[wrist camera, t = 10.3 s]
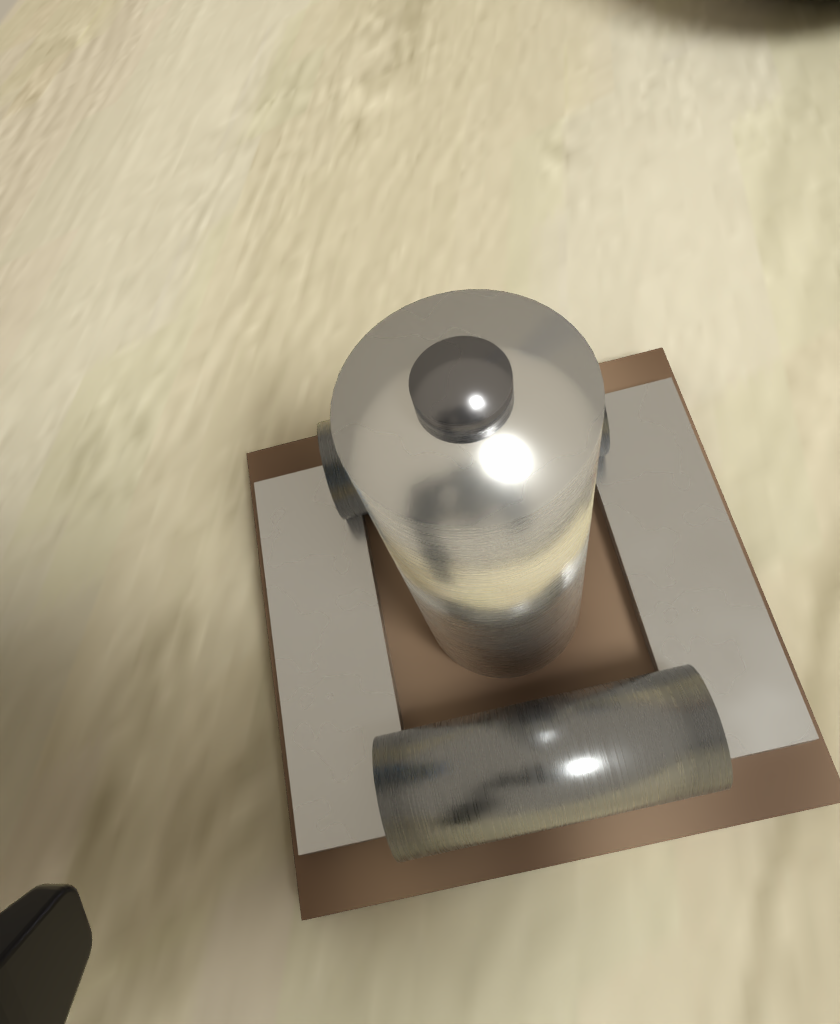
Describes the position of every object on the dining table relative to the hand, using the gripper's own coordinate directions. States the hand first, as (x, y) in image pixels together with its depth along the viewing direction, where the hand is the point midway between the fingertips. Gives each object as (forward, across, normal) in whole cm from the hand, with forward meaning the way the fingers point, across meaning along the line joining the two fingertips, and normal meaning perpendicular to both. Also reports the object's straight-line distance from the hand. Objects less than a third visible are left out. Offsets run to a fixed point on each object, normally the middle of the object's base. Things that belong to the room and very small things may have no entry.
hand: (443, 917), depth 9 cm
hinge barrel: (+13, 0, +3) cm, 14 cm away
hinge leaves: (+13, 0, +3) cm, 14 cm away
